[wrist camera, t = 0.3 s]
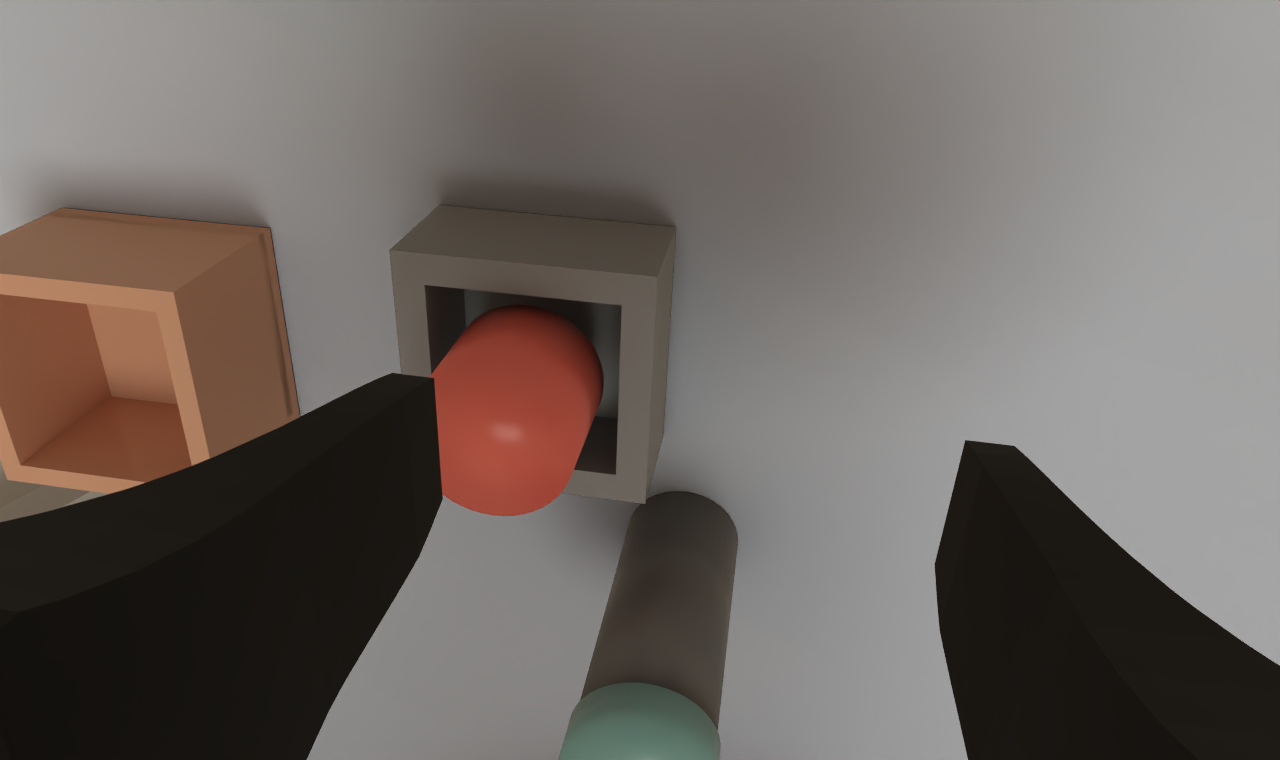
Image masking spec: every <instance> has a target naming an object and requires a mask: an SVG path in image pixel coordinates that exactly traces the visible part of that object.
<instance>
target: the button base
mask: <svg viewBox="0 0 1280 760" xmlns="http://www.w3.org/2000/svg"><path fill="white" fill-rule="evenodd" d="M675 237H676V227H669V226H659V225H648V224H637V223H626V222H616V221H605V220H594V219H583V218H573V217H562V216H551V215H540V214H530V213H519V212H508V211H497V210H486V209H476V208H465V207H454V206H443V205H439V206H438V207H437V208H436V209H435V210H434V211H432V212H431V213H430V214H429V215H428V216H427V217H426V218H425V219H424V220H422V221H421V222H420V223H419V224H418V225H417V226H416V227H415V228H414V229H412V230H411V231H410V232H409V233H408V234H407V235H406V236H405V237H404V238H403V239H401V240H400V241H399V242H398V243H397V244H396V245H395V246H394V247H393V248H391V249H390V261H391V271H392V282H393V292H394V303H395V313H396V324H397V334H398V345H399V355H400V366H401V374H405V375H413V376H422V377H430V376H431V374H432V373H433V372H434V370H435V369H436V368H437V366H438V365H439V364H440V362H441V361H442V360H443V358H444V357H445V356H446V354H447V353H448V352H449V350H450V349H451V348H452V346H453V345H454V344H455V342H456V341H457V340H458V338H459V337H460V336H461V334H462V333H463V332H464V330H465V329H466V328H467V326H468V325H469V324H470V323H471V322H472V321H473V320H475V319H476V318H477V317H479V316H480V315H481V314H483V313H485V312H487V311H489V310H492V309H494V308H497V307H501V306H506V305H516V304H519V305H531V306H537V307H541V308H544V309H548V310H550V311H552V312H555V313H557V314H559V315H561V316H562V317H564V318H566V319H567V320H569V321H570V322H571V323H573V324H574V325H575V326H577V327H578V328H579V329H580V330H581V331H582V332H583V333H584V334H585V336H586V337H587V338H588V339H589V340H590V342H591V343H592V345H593V346H594V348H595V350H596V352H597V354H598V356H599V359H600V362H601V365H602V369H603V374H604V389H603V395H602V399H601V402H600V404H599V407H598V409H597V412H596V415H595V417H594V420H593V422H592V425H591V427H590V430H589V432H588V435H587V437H586V440H585V442H584V445H583V447H582V450H581V452H580V455H579V457H578V460H577V463H576V465H575V468H574V470H573V473H572V475H571V477H570V480H569V482H568V484H567V485H566V487H565V488H564V490H563V491H562V492H561V493H563V494H571V495H579V496H587V497H594V498H602V499H610V500H618V501H625V502H633V503H641V504H645V503H646V499H647V496H648V492H649V488H650V484H651V480H652V476H653V473H654V469H655V465H656V461H657V457H658V453H659V450H660V446H661V442H662V438H663V431H664V415H665V399H666V383H667V367H668V351H669V334H670V318H671V302H672V286H673V270H674V254H675Z"/></svg>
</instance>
